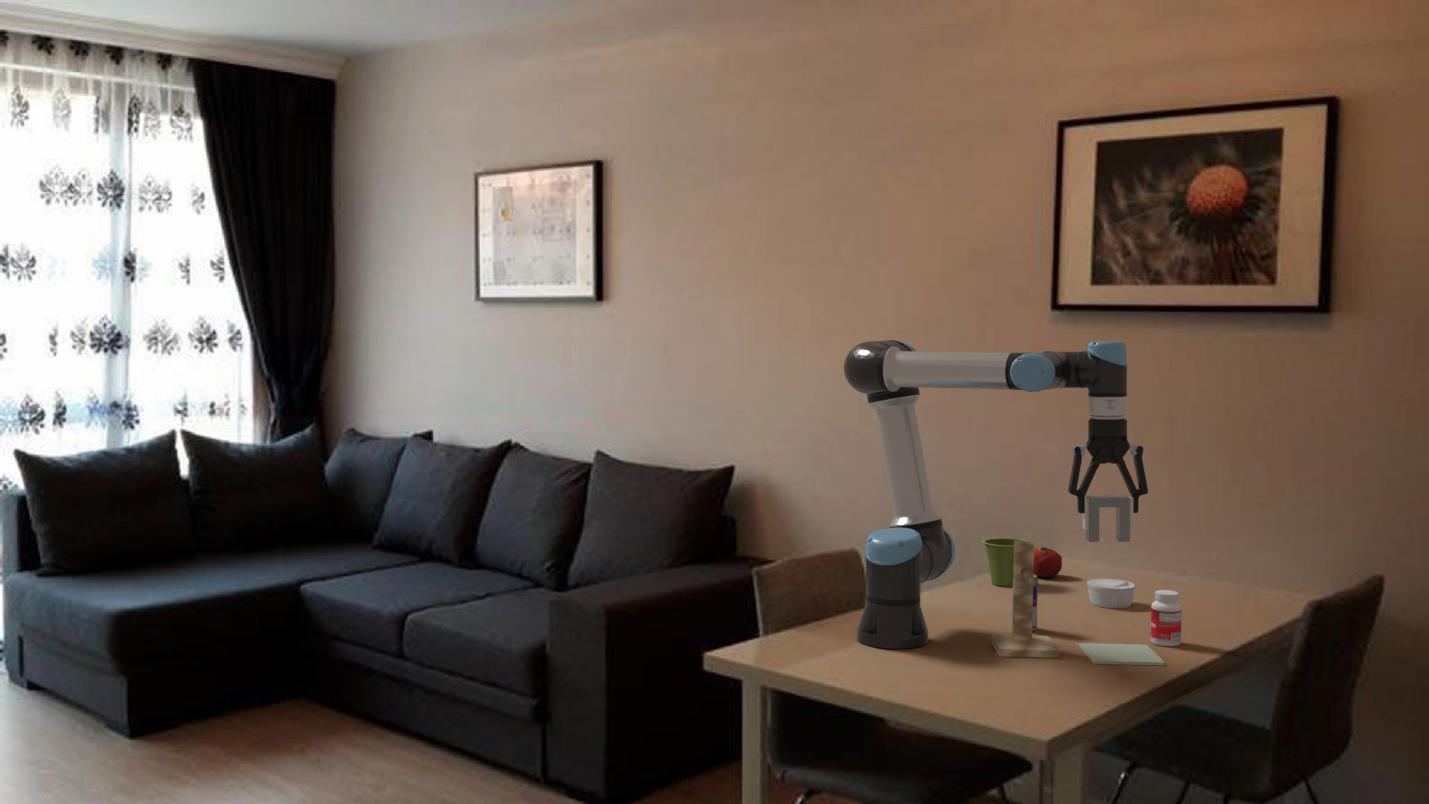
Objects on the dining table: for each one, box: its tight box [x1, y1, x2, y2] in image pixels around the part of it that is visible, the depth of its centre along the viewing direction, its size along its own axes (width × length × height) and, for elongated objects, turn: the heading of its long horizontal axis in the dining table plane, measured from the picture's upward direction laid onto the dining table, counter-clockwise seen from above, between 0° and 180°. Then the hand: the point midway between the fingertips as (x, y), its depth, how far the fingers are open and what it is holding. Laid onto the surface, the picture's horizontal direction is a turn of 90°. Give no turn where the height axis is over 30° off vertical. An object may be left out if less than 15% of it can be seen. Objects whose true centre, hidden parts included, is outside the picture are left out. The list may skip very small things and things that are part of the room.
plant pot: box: [982, 537, 1027, 587], centre depth 331 cm, size 12×12×11 cm
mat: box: [1078, 642, 1166, 666], centre depth 262 cm, size 14×14×1 cm
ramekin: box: [1086, 578, 1136, 609], centre depth 308 cm, size 11×11×5 cm
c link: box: [1085, 494, 1131, 543], centre depth 259 cm, size 8×4×9 cm, turn 84°
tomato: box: [1033, 546, 1063, 578], centre depth 341 cm, size 9×9×8 cm
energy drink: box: [1011, 574, 1039, 632], centre depth 283 cm, size 5×5×12 cm
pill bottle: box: [1150, 589, 1183, 648], centre depth 271 cm, size 6×6×11 cm
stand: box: [990, 540, 1060, 659], centre depth 264 cm, size 12×15×22 cm
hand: (1107, 529), depth 259 cm, fingers closed on c link, 8 cm apart
